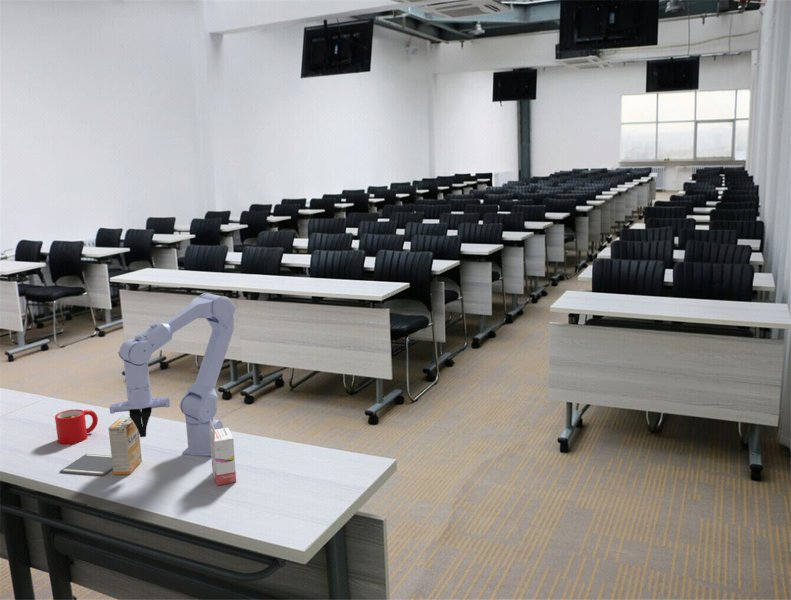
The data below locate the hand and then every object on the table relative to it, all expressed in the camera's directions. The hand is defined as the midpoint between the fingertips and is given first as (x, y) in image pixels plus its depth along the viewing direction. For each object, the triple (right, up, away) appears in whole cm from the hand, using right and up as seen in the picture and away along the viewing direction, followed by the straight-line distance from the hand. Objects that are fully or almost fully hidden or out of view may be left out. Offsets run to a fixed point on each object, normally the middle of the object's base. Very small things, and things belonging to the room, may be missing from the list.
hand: (143, 435), depth 181 cm
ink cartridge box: (+22, -10, -4) cm, 25 cm away
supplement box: (-5, -9, +3) cm, 11 cm away
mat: (-15, -9, +5) cm, 18 cm away
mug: (-28, -5, +25) cm, 38 cm away
